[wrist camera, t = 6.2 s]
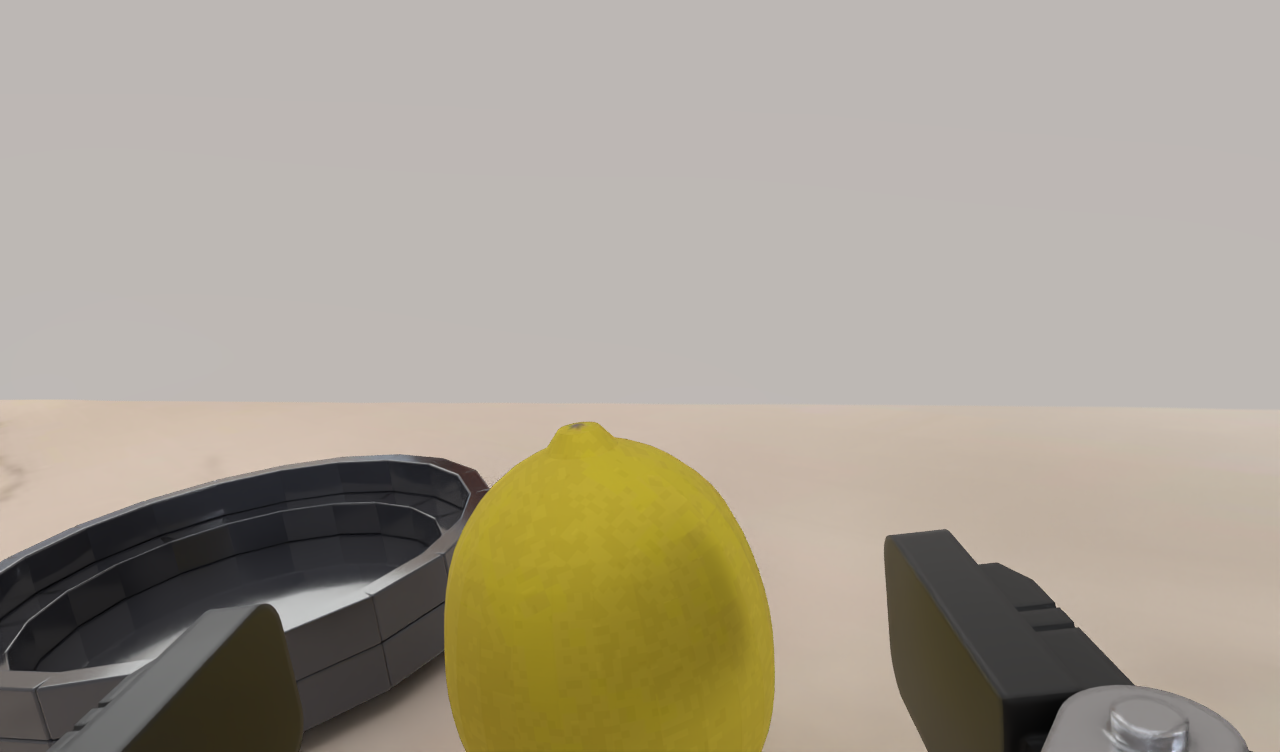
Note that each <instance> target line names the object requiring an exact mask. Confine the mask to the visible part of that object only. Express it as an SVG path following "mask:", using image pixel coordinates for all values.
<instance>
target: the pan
mask: <svg viewBox="0 0 1280 752" xmlns="http://www.w3.org/2000/svg"><path fill="white" fill-rule="evenodd" d="M489 490H490V488H489V487H488V485H487V484H486V483H485V481H484V480H483V479H482V477H481V476H480V475H479V473H478V472H477V471H476V470H474V469H472V468H469V467H466V466H463V465H460V464H458V463H455V462H452V461H449V460H446V459H443V458H433V457H422V456H412V455H401V454H399V455H398V454H397V455H375V456H353V457H339V458H332V459H325V460H318V461H311V462H304V463H297V464H289V465H283V466H278V467H274V468H269V469H265V470H260V471H255V472H251V473H246V474H241V475H237V476H232V477H228V478H223V479H218V480H216V481H211V482H208V483H204V484H201V485H197V486H194V487H190V488H187V489H184V490H180V491H177V492H173V493H170V494H166V495H163V496H159V497H156V498H152V499H149V500H147V501H143V502H140V503H137V504H134V505H132V506H129V507H126V508H123V509H121V510H118V511H115V512H113V513H110V514H107V515H104V516H102V517H99V518H96V519H94V520H91V521H88V522H85V523H83V524H80V525H77V526H75V527H74V528H70V529H68V530H66V531H64V532H62V533H60V534H57V535H55V536H53V537H51V538H49V539H47V540H45V541H42V542H40V543H38V544H36V545H34V546H32V547H30V548H28V549H25V550H23V551H21V552H19V553H17V554H15V555H13V556H10V557H8V558H7V559H5V560H3V561H1V562H0V752H46V751H47V750H48V749H49V748H50V747H51V746H53V745H54V744H55V743H56V742H57V741H58V740H59V739H60V738H61V737H62V736H63V735H64V734H65V733H66V732H71V731H73V729H74V727H73V726H74V725H75V724H76V723H77V722H78V721H79V720H80V719H81V718H83V717H84V716H85V715H86V714H87V713H88V712H89V711H90V710H91V709H94V708H98V703H99V702H100V701H101V700H102V699H103V698H104V697H105V696H106V695H107V694H108V693H109V692H110V691H112V690H113V689H114V688H115V687H116V686H117V685H118V684H119V683H120V682H121V681H122V680H123V679H124V678H125V677H127V676H128V675H130V674H131V673H133V672H135V671H136V670H138V669H139V668H141V667H143V666H144V665H146V664H148V663H149V662H151V661H153V660H154V659H156V658H157V657H158V656H159V655H160V654H161V653H162V652H163V651H164V650H165V649H166V648H167V647H168V646H170V645H171V644H172V643H173V642H174V641H175V640H176V639H177V638H178V637H179V636H180V635H181V634H182V633H183V632H184V631H185V630H186V629H187V628H188V627H190V626H191V625H192V624H193V623H194V622H195V621H196V620H197V619H198V618H199V617H200V616H201V615H202V614H203V613H205V612H206V611H208V610H210V609H219V608H228V607H237V606H246V605H255V604H264V603H267V604H270V605H272V606H273V607H274V608H275V609H276V611H277V612H278V614H279V616H280V619H281V622H282V626H283V630H284V634H285V638H286V642H287V646H288V650H289V655H290V659H291V663H292V667H293V671H294V675H295V679H296V683H297V688H298V692H299V696H300V700H301V704H302V709H303V718H304V727H303V732H305V731H307V730H309V729H311V728H313V727H315V726H317V725H319V724H321V723H323V722H325V721H327V720H329V719H331V718H333V717H336V716H338V715H340V714H342V713H344V712H346V711H348V710H350V709H352V708H354V707H356V706H358V705H360V704H362V703H364V702H366V701H368V700H370V699H372V698H374V697H376V696H378V695H380V694H382V693H384V692H387V691H389V690H390V689H391V687H395V686H396V685H397V684H399V683H400V682H401V681H403V680H404V679H406V678H407V677H408V676H410V675H411V674H413V673H414V672H415V671H417V670H418V669H419V668H421V667H422V666H424V665H425V664H426V663H428V662H429V661H431V660H432V659H433V658H435V657H436V656H438V655H439V654H440V653H442V652H443V651H444V650H445V649H444V613H445V599H446V588H447V581H448V574H449V569H450V565H451V561H452V557H453V553H454V550H455V547H456V545H457V542H458V540H459V538H460V535H461V533H462V531H463V529H464V527H465V525H466V523H467V521H468V520H469V518H470V516H471V515H472V513H473V512H474V510H475V508H476V507H477V505H478V504H479V502H480V501H481V499H482V498H483V497H484V496H485V495H486V493H487V492H488V491H489Z"/></svg>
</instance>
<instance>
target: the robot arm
mask: <svg viewBox="0 0 1280 752" xmlns="http://www.w3.org/2000/svg"><path fill="white" fill-rule="evenodd" d="M884 561H885V576H886V591H887V606H888V621H889V635H890V649H891V657H892V663H893V668H894V673H895V677H896V681H897V685H898V688H899V691H900V694H901V697H902V699H903V701H904V703H905V705H906V707H907V710H908V712H909V714H910V716H911V718H912V720H913V722H914V724H915V726H916V728H917V730H918V732H919V734H920V736H921V738H922V740H923V742H924V744H925V746H926V749H927V751H928V752H1251V751H1249V750H1248V747H1247V745H1246V742H1245V740H1244V739H1243V738H1242V736H1241V735H1240V733H1239V732H1238V731H1237V730H1236V729H1235V728H1234V727H1233V726H1232V725H1231V724H1230V723H1229V722H1228V721H1226V720H1225V719H1224V718H1223V717H1221V716H1220V715H1219V714H1217V713H1215V712H1214V711H1212V710H1210V709H1209V708H1207V707H1205V706H1203V705H1201V704H1199V703H1197V702H1195V701H1192V700H1190V699H1187V698H1185V697H1182V696H1179V695H1176V694H1173V693H1170V692H1166V691H1162V690H1158V689H1153V688H1148V687H1141V686H1135V685H1134V684H1133V683H1132V682H1131V681H1130V680H1129V679H1128V678H1127V677H1126V676H1125V675H1124V674H1123V673H1122V672H1121V671H1120V670H1119V669H1118V668H1117V666H1116V665H1115V664H1114V663H1113V662H1112V661H1111V660H1110V659H1109V658H1108V657H1107V656H1106V655H1105V654H1104V653H1103V652H1102V651H1101V650H1100V649H1099V648H1098V647H1097V646H1096V645H1095V644H1094V643H1093V642H1092V641H1091V640H1090V639H1089V638H1088V636H1087V635H1086V634H1085V633H1084V632H1083V631H1082V630H1081V629H1080V628H1079V627H1078V628H1075V626H1074V622H1073V621H1072V620H1071V619H1070V618H1069V617H1068V616H1067V615H1066V614H1065V613H1064V612H1063V611H1062V610H1061V609H1060V608H1056V606H1055V602H1054V601H1053V600H1052V599H1051V598H1050V597H1049V596H1048V595H1047V594H1046V593H1045V592H1044V591H1043V590H1042V589H1041V588H1040V587H1039V586H1038V585H1037V584H1036V583H1035V582H1034V581H1033V580H1032V579H1030V578H1028V577H1026V576H1024V575H1022V574H1020V573H1018V572H1016V571H1013V570H1011V569H1009V568H1007V567H1005V566H1003V565H1001V564H999V563H989V564H979V565H978V564H977V563H976V562H975V561H974V559H973V558H972V557H971V556H970V555H969V554H968V552H967V551H966V550H965V549H964V548H963V547H962V546H961V544H960V543H959V542H958V541H957V540H956V539H955V537H954V536H953V535H952V534H951V533H950V532H949V531H948V530H946V529H943V530H934V531H925V532H916V533H907V534H898V535H889V536H887V537H886V539H885V544H884ZM73 727H74V729H73V731H71V732H66V733H65V734H64V735H63V736H62V737H61V738H60V739H59V740H58V741H57V742H56V743H55V744H54V745H53V746H51V747H50V748H49V749H48V750H47V751H46V752H299V750H300V747H301V742H302V737H303V727H304V718H303V709H302V704H301V700H300V696H299V692H298V688H297V683H296V679H295V675H294V671H293V667H292V663H291V659H290V655H289V650H288V646H287V642H286V638H285V634H284V630H283V626H282V622H281V619H280V616H279V614H278V612H277V611H276V609H275V608H274V607H273V606H272V605H270V604H267V603H264V604H255V605H246V606H237V607H228V608H219V609H210V610H208V611H206V612H205V613H203V614H202V615H201V616H200V617H199V618H198V619H197V620H196V621H195V622H194V623H193V624H192V625H191V626H190V627H188V628H187V629H186V630H185V631H184V632H183V633H182V634H181V635H180V636H179V637H178V638H177V639H176V640H175V641H174V642H173V643H172V644H171V645H170V646H168V647H167V648H166V649H165V650H164V651H163V652H162V653H161V654H160V655H159V656H158V657H157V658H156V659H154V660H153V661H151V662H149V663H148V664H146V665H144V666H143V667H141V668H139V669H138V670H136V671H135V672H133V673H131V674H130V675H128V676H127V677H125V678H124V679H123V680H122V681H121V682H120V683H119V684H118V685H117V686H116V687H115V688H114V689H113V690H112V691H110V692H109V693H108V694H107V695H106V696H105V697H104V698H103V699H102V700H101V701H100V702H99V703H98V708H94V709H91V710H90V711H89V712H88V713H87V714H86V715H85V716H84V717H83V718H81V719H80V720H79V721H78V722H77V723H76V724H75V725H74V726H73Z"/></svg>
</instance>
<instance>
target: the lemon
mask: <svg viewBox="0 0 1280 752" xmlns="http://www.w3.org/2000/svg"><path fill="white" fill-rule="evenodd" d="M444 649H445V670H446V681H447V688H448V695H449V701H450V705H451V709H452V714H453V718H454V721H455V724H456V727H457V730H458V733H459V736H460V739H461V741H462V744H463V746H464V748H465V751H466V752H761V751H762V748H763V745H764V742H765V739H766V737H767V734H768V731H769V726H770V721H771V716H772V711H773V701H774V684H775V667H774V644H773V630H772V623H771V617H770V610H769V606H768V602H767V597H766V593H765V589H764V586H763V583H762V579H761V576H760V573H759V570H758V567H757V564H756V562H755V559H754V556H753V554H752V551H751V549H750V546H749V544H748V542H747V540H746V538H745V536H744V533H743V531H742V529H741V528H740V526H739V524H738V523H737V521H736V519H735V517H734V516H733V514H732V512H731V511H730V509H729V507H728V506H727V504H726V502H725V501H724V499H723V498H722V497H721V496H720V494H719V493H718V492H717V491H716V489H715V488H714V487H713V486H712V485H711V484H710V483H709V482H708V481H707V480H706V479H705V478H703V477H702V476H701V475H700V474H699V473H698V472H696V471H695V470H693V469H692V468H690V467H689V466H687V465H686V464H684V463H683V462H681V461H680V460H678V459H676V458H675V457H673V456H672V455H670V454H668V453H666V452H664V451H662V450H660V449H657V448H655V447H653V446H650V445H647V444H643V443H640V442H636V441H632V440H628V439H622V438H615V437H613V436H612V435H611V434H610V433H609V432H607V431H606V430H605V429H604V428H603V427H602V426H601V425H599V424H598V423H595V422H579V423H573V424H569V425H566V426H563V427H561V428H560V429H558V431H557V432H556V434H555V436H554V437H553V439H552V440H551V442H550V444H549V445H548V447H547V448H545V449H543V450H541V451H539V452H537V453H535V454H533V455H532V456H530V457H528V458H527V459H525V460H523V461H522V462H520V463H519V464H517V465H516V466H515V467H513V468H512V469H511V470H510V471H509V472H508V473H507V474H505V475H504V476H503V477H502V478H501V479H500V480H499V481H498V482H497V483H495V484H494V485H493V486H492V488H491V489H490V490H489V491H488V492H487V493H486V495H485V496H484V497H483V498H482V499H481V501H480V502H479V504H478V505H477V507H476V508H475V510H474V512H473V513H472V515H471V516H470V518H469V520H468V521H467V523H466V525H465V527H464V529H463V531H462V533H461V535H460V538H459V540H458V542H457V545H456V547H455V550H454V553H453V557H452V561H451V565H450V569H449V574H448V581H447V588H446V599H445V613H444Z"/></svg>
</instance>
